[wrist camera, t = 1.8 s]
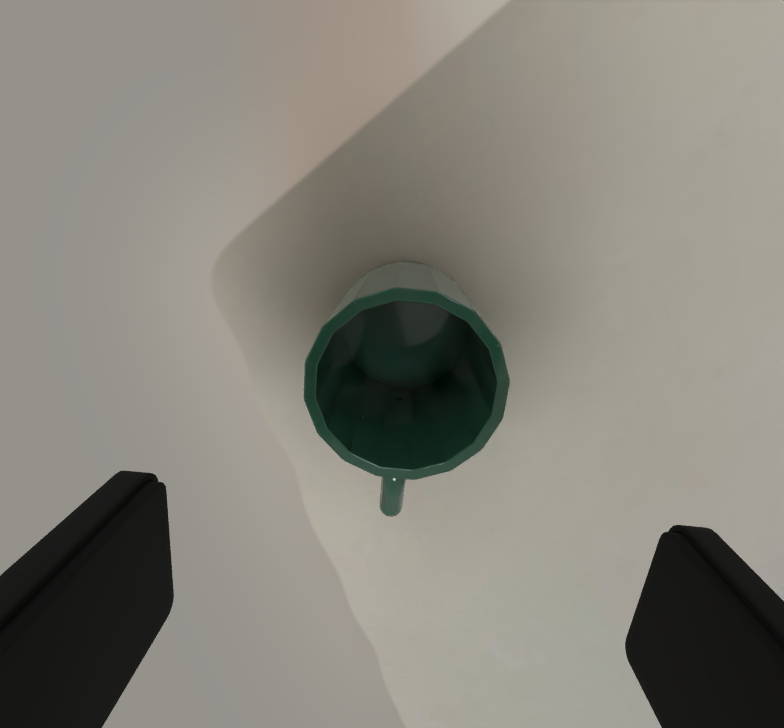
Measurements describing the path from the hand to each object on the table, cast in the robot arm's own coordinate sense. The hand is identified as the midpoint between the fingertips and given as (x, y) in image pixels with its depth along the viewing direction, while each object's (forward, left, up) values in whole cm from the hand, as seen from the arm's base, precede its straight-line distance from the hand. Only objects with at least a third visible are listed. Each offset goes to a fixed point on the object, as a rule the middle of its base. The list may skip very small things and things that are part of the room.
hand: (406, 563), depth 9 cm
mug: (+1, 0, -17) cm, 17 cm away
